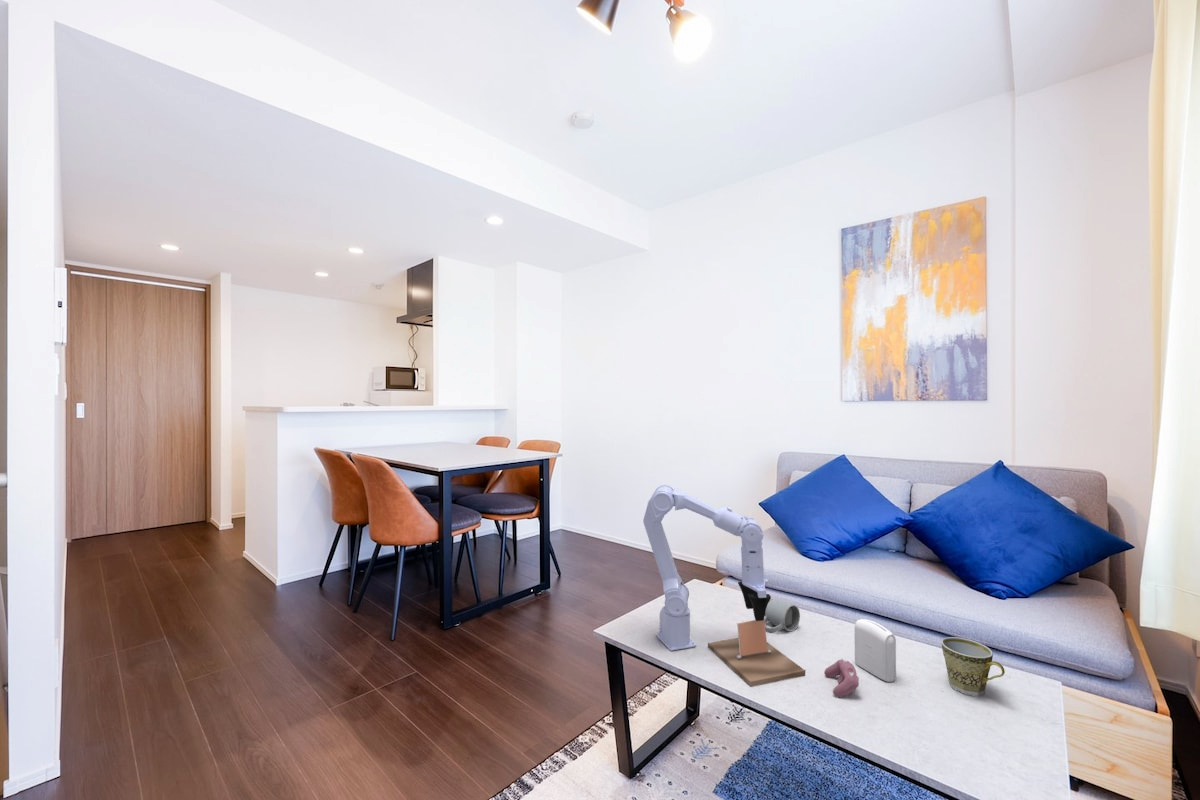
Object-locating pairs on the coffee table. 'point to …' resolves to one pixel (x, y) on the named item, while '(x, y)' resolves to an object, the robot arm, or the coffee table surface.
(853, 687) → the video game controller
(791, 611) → the ceramic mug
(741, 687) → the coffee table surface
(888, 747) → the coffee table surface
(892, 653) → the photo printer
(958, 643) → the ceramic cup
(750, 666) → the board
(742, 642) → the hinged panel
